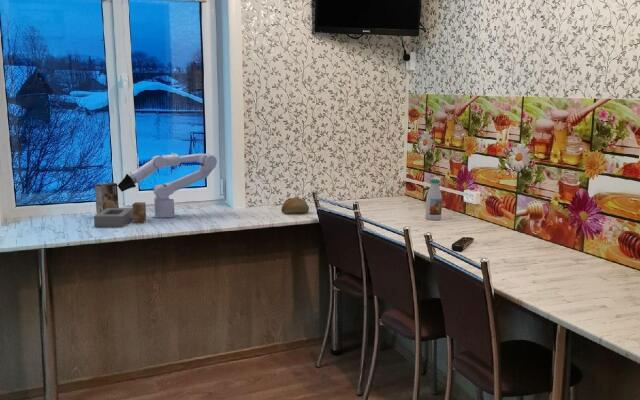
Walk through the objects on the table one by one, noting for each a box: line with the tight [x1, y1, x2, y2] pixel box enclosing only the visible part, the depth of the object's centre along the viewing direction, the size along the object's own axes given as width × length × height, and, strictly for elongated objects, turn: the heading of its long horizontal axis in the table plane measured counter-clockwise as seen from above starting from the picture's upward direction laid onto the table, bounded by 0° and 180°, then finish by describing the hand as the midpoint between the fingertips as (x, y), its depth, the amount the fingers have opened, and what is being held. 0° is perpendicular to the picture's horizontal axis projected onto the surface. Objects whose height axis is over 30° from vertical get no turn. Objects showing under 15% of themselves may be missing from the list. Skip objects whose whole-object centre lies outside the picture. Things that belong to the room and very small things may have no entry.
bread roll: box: [280, 197, 310, 214], centre depth 303 cm, size 10×15×8 cm, turn 112°
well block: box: [93, 207, 133, 228], centre depth 278 cm, size 13×20×5 cm, turn 4°
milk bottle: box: [425, 178, 443, 221], centre depth 290 cm, size 8×8×20 cm
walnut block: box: [131, 201, 147, 224], centre depth 280 cm, size 5×5×9 cm
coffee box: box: [94, 182, 120, 215], centre depth 293 cm, size 9×6×16 cm
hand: (119, 188), depth 282 cm, fingers open, 7 cm apart
